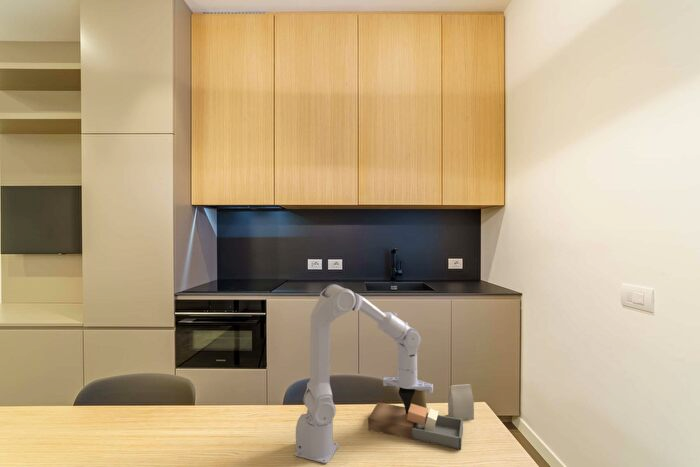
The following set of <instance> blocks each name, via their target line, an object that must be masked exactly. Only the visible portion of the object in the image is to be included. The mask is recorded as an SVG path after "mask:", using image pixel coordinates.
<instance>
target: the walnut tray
mask: <svg viewBox="0 0 700 467" xmlns="http://www.w3.org/2000/svg"><path fill="white" fill-rule="evenodd" d="M407 417H408V414H406V410H405V406H400V405H395V404H388V403H384V402H377V403H376V405H375V406H374V407H373V410H372V411H371V413H370V414H369V416H368V418H367V426H368V427H367V428H368V429H367V430H368V431H372V432H374V433H375V432H376V433H381V434H385V435H390V436H394V437H399V438H404V439H408V440H413V439H412V428H414V426H415V422H412V421H409V420H407Z"/></svg>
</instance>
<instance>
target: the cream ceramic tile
mask: <svg viewBox="0 0 700 467" xmlns="http://www.w3.org/2000/svg"><path fill="white" fill-rule="evenodd" d="M428 413H429V414H428V417H427V421H426V425H425V428H424V430H426V431H431V432H433V431H434V428H435V424H436V420H437V416H438V415H439V410H435V409H433V408H429V411H428Z"/></svg>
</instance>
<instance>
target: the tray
mask: <svg viewBox="0 0 700 467" xmlns="http://www.w3.org/2000/svg"><path fill="white" fill-rule="evenodd" d="M428 414H429V412H427V417H428ZM426 421H427V418H426ZM426 421H425V425H426ZM425 425H421V424H418V423H415V426H414V428H412V439H411V440H413V441H417V442H418V441H419V442H423V443H427V444H433V445H435V446H436V445H438V446H442V447H446V448H451V449H456V450H460V451H461V450H462V445H463V444H462V442H463V436H464V434H463V432H464V420H463V419H458V418H453V417H450V416H447V415H443V414H442V415H441V414H438V416H437V420H436V424H435V428H434V431H433V432H431V431H426V430H424V428H425Z"/></svg>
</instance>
